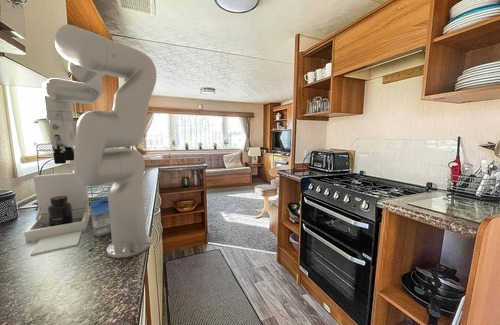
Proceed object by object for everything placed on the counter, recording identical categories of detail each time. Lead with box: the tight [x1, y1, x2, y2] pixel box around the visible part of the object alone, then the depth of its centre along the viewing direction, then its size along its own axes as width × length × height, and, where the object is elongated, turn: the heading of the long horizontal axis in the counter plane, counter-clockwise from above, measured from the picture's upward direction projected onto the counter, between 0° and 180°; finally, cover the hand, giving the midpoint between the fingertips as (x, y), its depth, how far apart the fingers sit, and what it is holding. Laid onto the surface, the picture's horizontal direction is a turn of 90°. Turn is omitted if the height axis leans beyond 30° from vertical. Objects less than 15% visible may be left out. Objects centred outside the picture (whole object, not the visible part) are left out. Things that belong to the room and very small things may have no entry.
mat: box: [30, 231, 83, 257], centre depth 71 cm, size 11×11×1 cm
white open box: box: [24, 172, 91, 243], centre depth 82 cm, size 18×16×20 cm
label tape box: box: [89, 197, 111, 238], centre depth 78 cm, size 9×4×12 cm, turn 143°
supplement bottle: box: [48, 196, 74, 227], centre depth 82 cm, size 7×7×12 cm
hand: (65, 161), depth 83 cm, fingers open, 9 cm apart
